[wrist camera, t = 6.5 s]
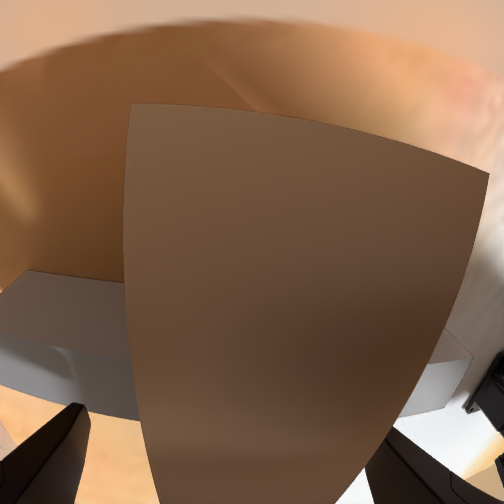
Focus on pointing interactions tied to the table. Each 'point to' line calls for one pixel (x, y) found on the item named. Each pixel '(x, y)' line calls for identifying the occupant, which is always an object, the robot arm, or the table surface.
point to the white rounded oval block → (5, 442)
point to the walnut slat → (281, 295)
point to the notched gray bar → (125, 348)
